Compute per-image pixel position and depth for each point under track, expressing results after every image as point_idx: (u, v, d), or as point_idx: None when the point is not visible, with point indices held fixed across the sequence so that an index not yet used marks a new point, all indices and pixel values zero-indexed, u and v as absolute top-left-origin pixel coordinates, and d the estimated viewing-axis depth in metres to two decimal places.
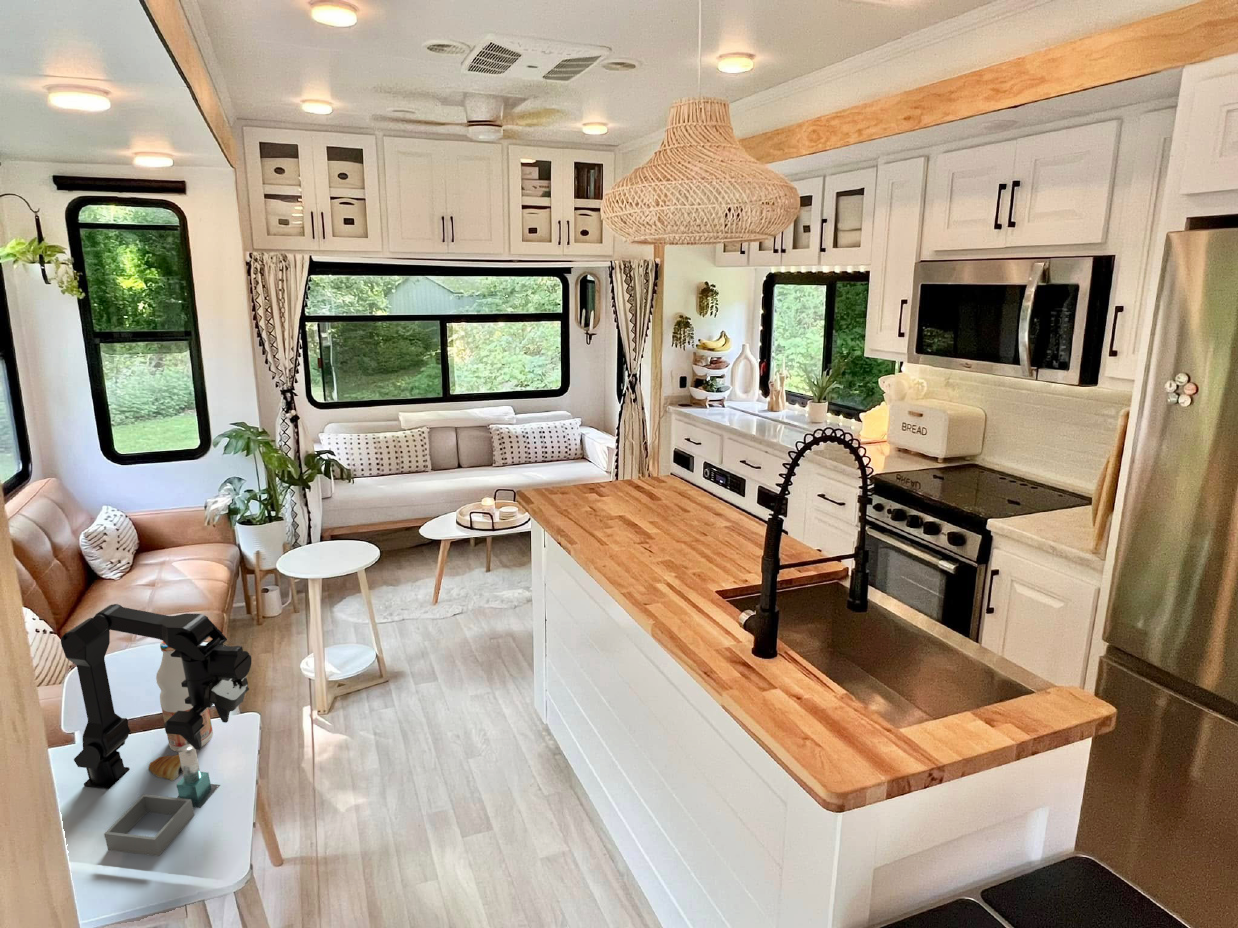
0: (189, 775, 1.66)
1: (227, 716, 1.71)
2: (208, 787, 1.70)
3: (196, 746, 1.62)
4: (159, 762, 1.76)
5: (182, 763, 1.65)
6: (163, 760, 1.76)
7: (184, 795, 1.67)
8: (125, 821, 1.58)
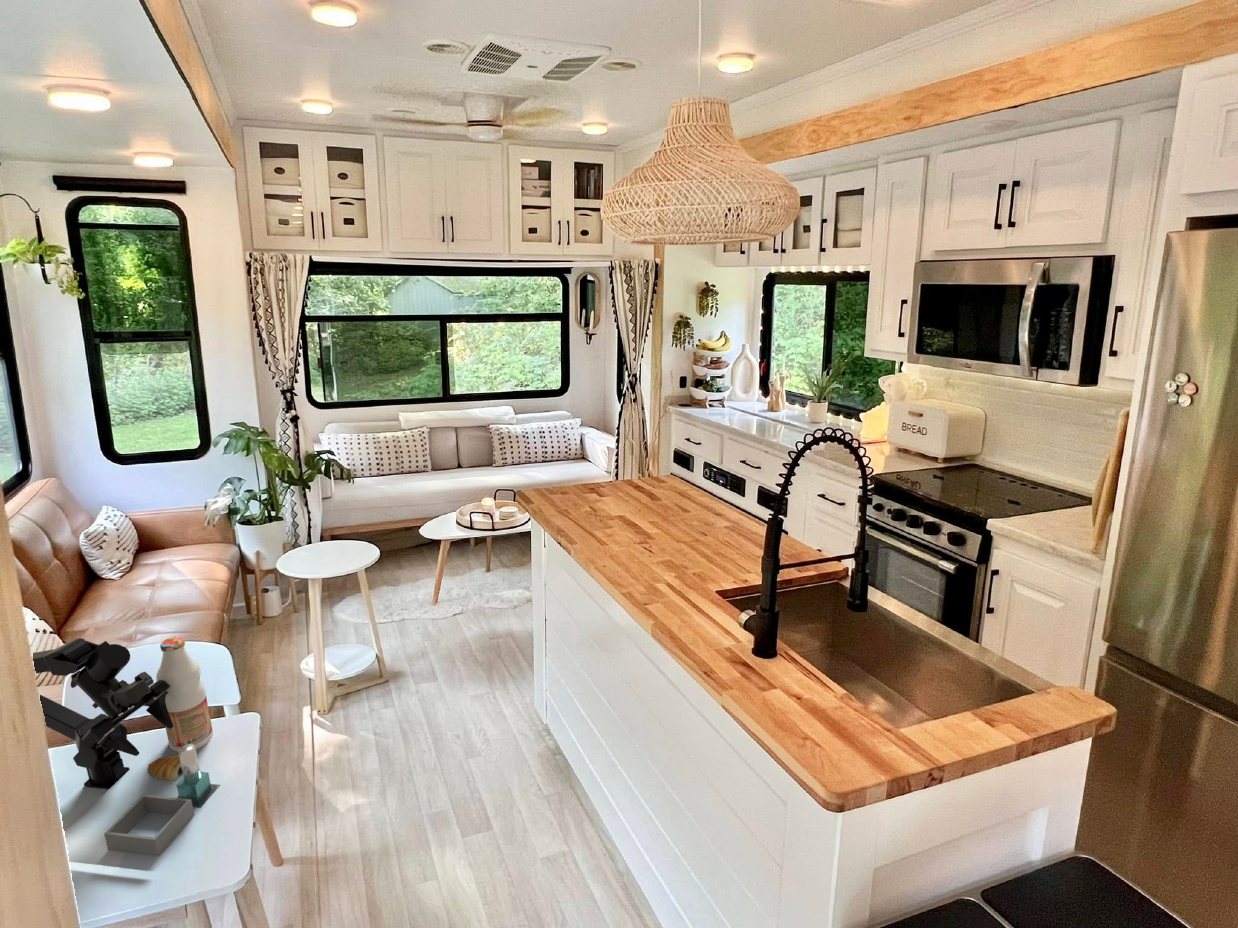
0: (189, 775, 1.66)
1: (169, 721, 1.71)
2: (208, 787, 1.70)
3: (132, 752, 1.62)
4: (158, 763, 1.76)
5: (182, 763, 1.65)
6: (162, 761, 1.76)
7: (184, 795, 1.67)
8: (125, 821, 1.58)
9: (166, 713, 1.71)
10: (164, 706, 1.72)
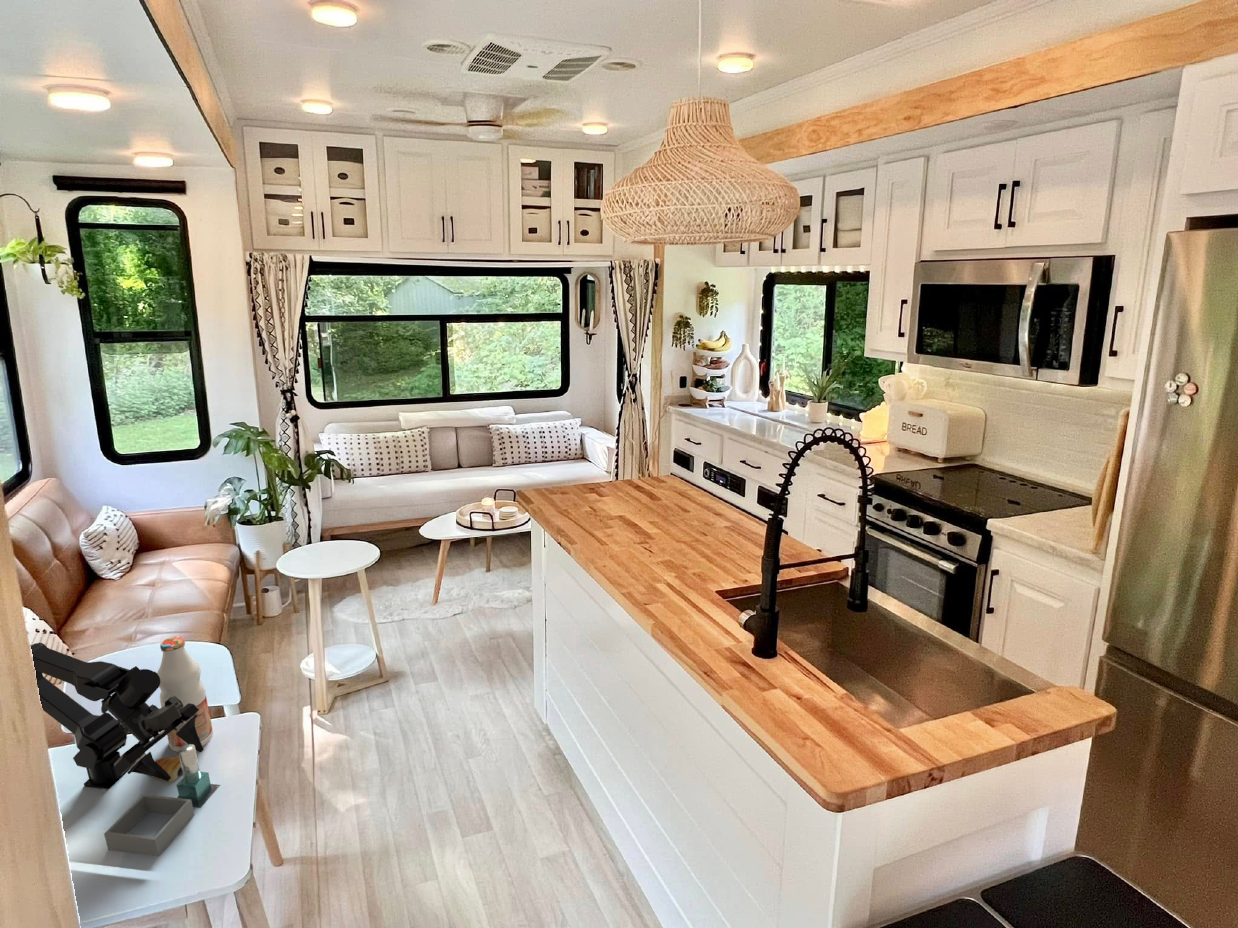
0: (189, 775, 1.66)
1: (199, 744, 1.71)
2: (208, 787, 1.70)
3: (164, 777, 1.62)
4: None
5: (182, 763, 1.65)
6: (161, 762, 1.76)
7: (184, 795, 1.67)
8: (125, 821, 1.58)
9: (196, 737, 1.71)
10: (194, 730, 1.71)
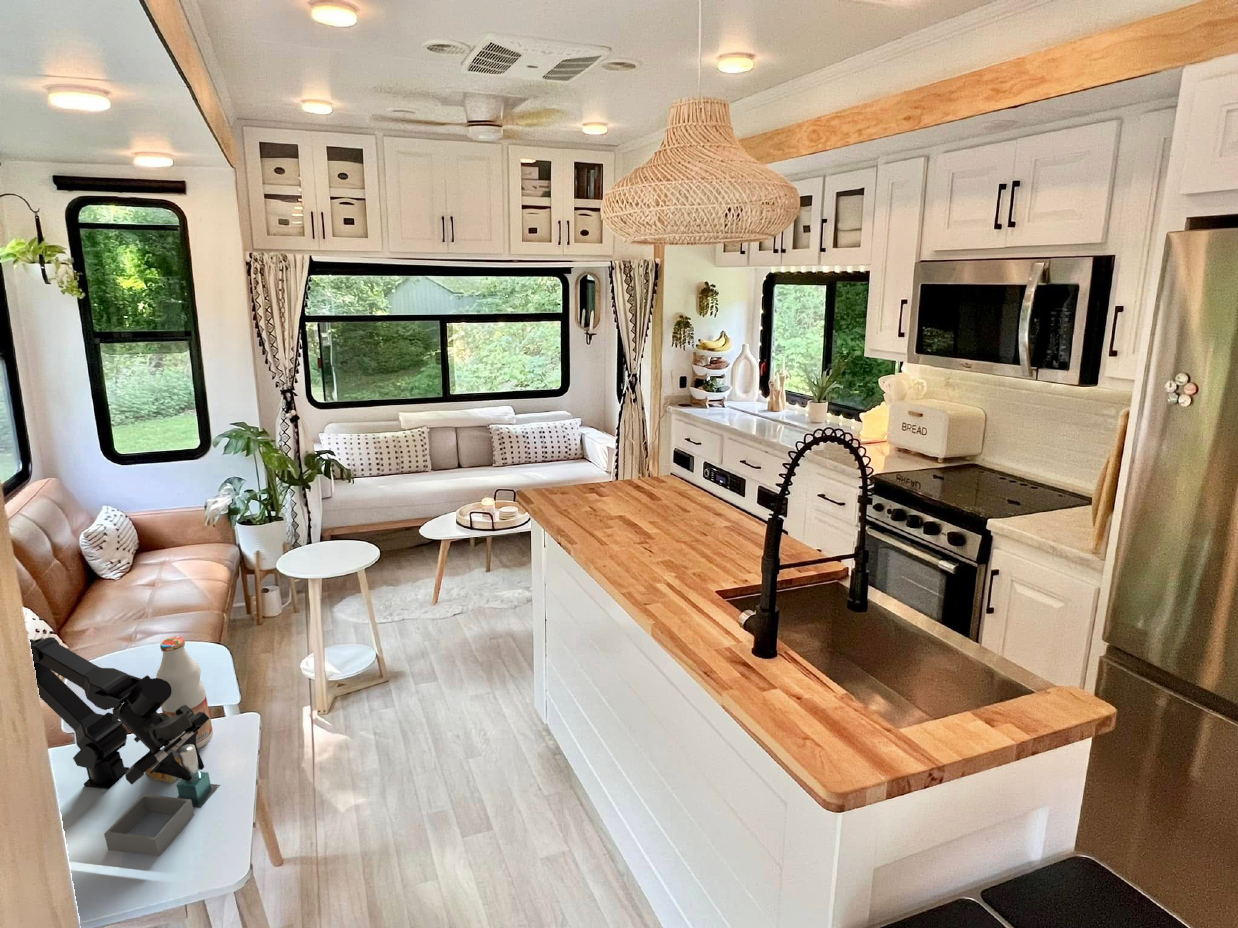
0: None
1: (199, 761, 1.68)
2: (208, 787, 1.70)
3: (185, 777, 1.65)
4: None
5: (182, 763, 1.65)
6: None
7: (184, 795, 1.67)
8: (125, 821, 1.58)
9: (197, 754, 1.68)
10: (195, 746, 1.69)
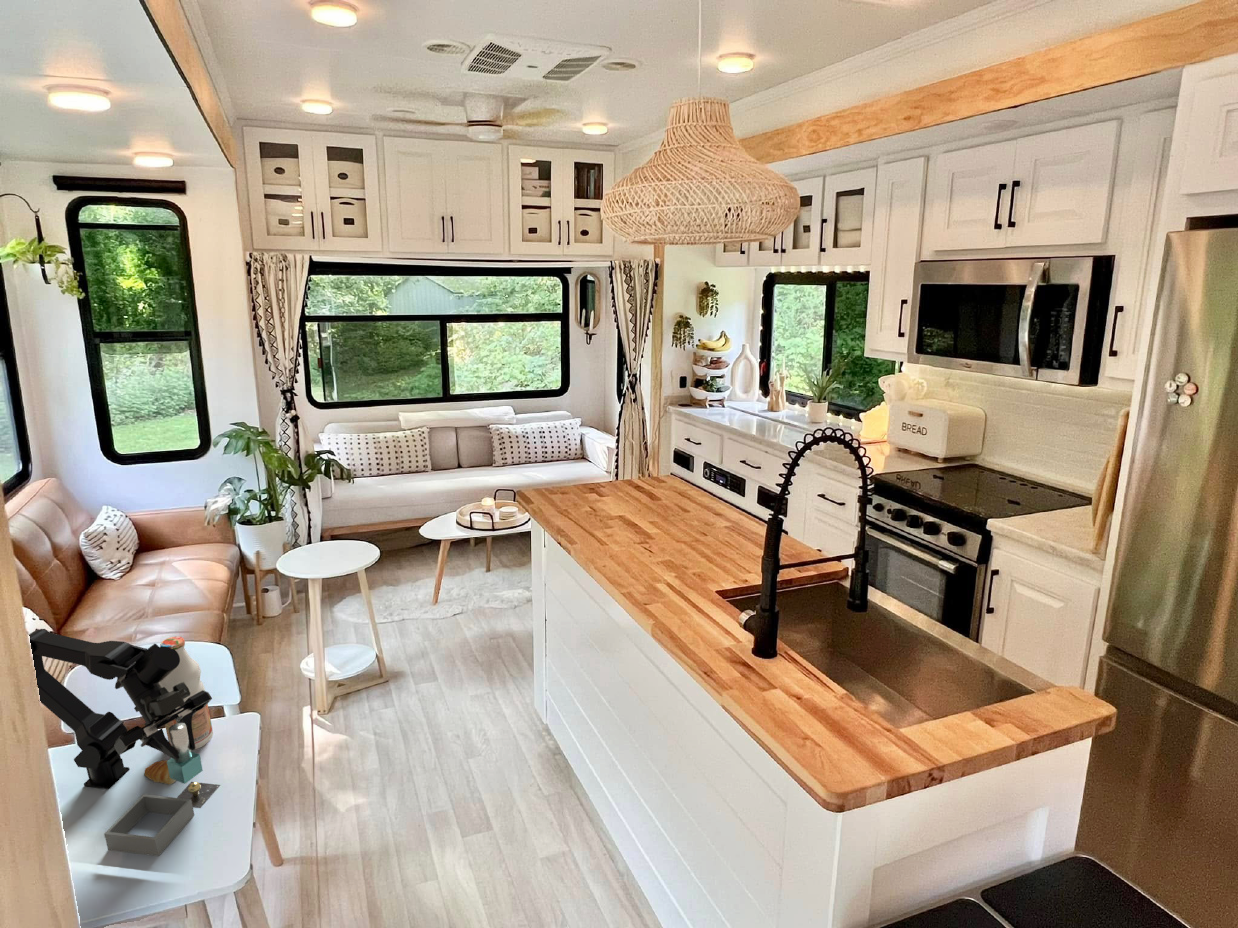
0: (178, 755, 1.62)
1: (191, 742, 1.64)
2: (198, 769, 1.66)
3: (173, 756, 1.61)
4: (155, 767, 1.74)
5: (171, 741, 1.61)
6: (159, 765, 1.75)
7: (173, 773, 1.64)
8: (125, 821, 1.58)
9: (190, 733, 1.65)
10: (189, 726, 1.65)
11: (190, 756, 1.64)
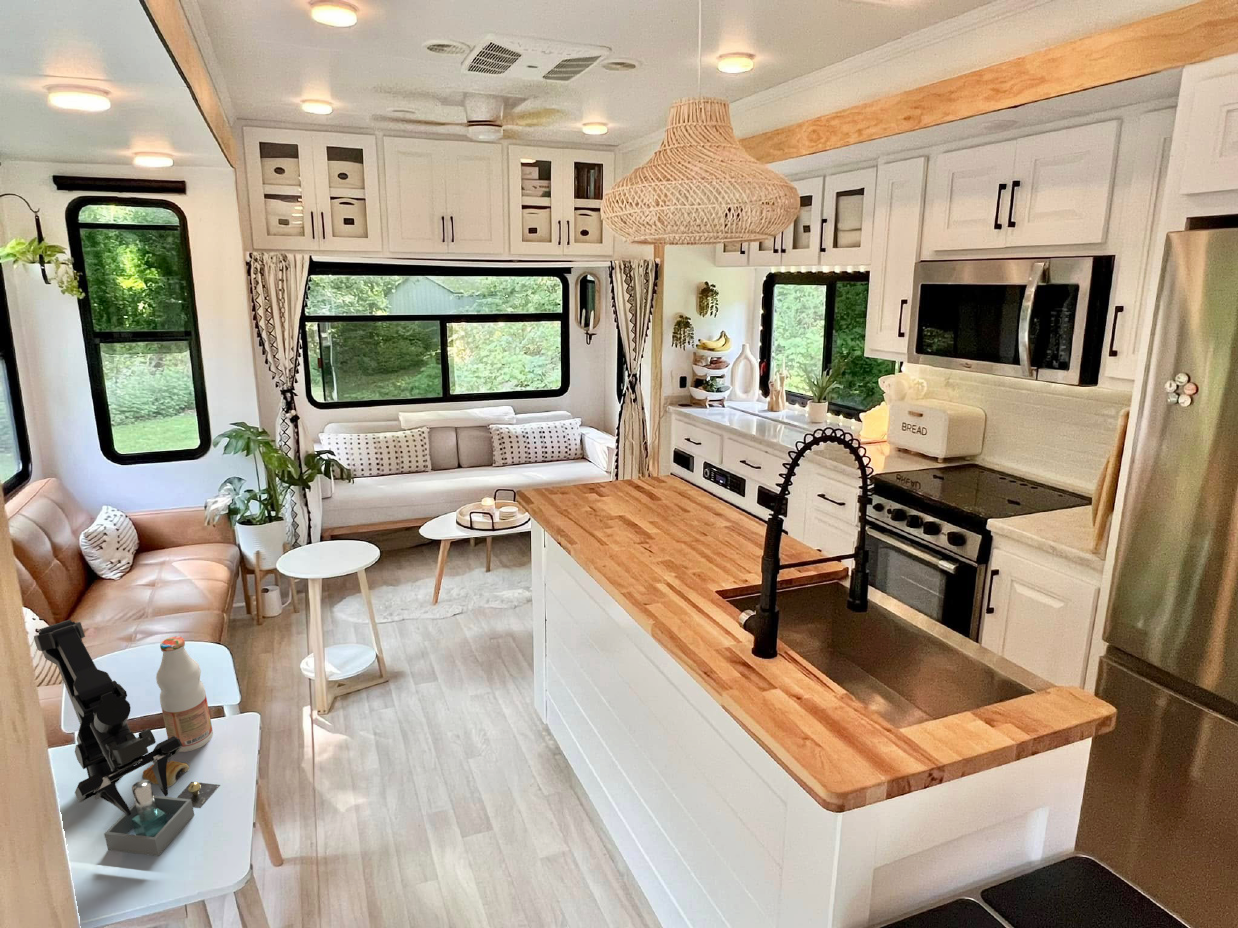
0: (141, 813, 1.56)
1: (164, 787, 1.58)
2: None
3: (124, 811, 1.53)
4: None
5: None
6: None
7: (137, 832, 1.57)
8: (125, 821, 1.58)
9: (163, 778, 1.59)
10: (164, 770, 1.59)
11: (155, 815, 1.57)
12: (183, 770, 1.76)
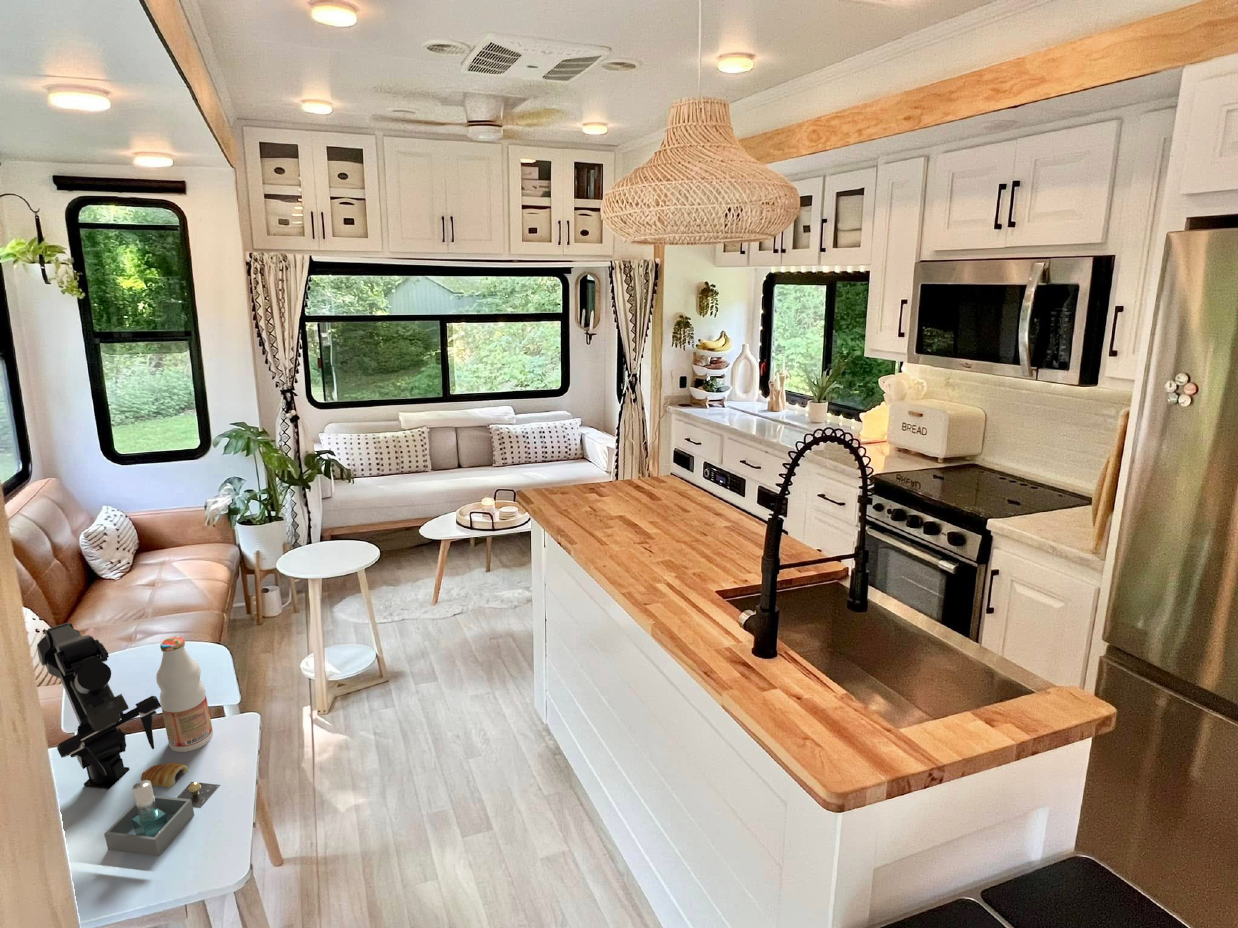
0: (141, 814, 1.56)
1: (150, 742, 1.63)
2: None
3: (100, 771, 1.58)
4: (153, 771, 1.73)
5: (135, 799, 1.55)
6: (157, 768, 1.74)
7: (138, 832, 1.57)
8: (125, 821, 1.58)
9: (149, 734, 1.63)
10: (149, 726, 1.63)
11: (155, 815, 1.57)
12: (182, 771, 1.75)
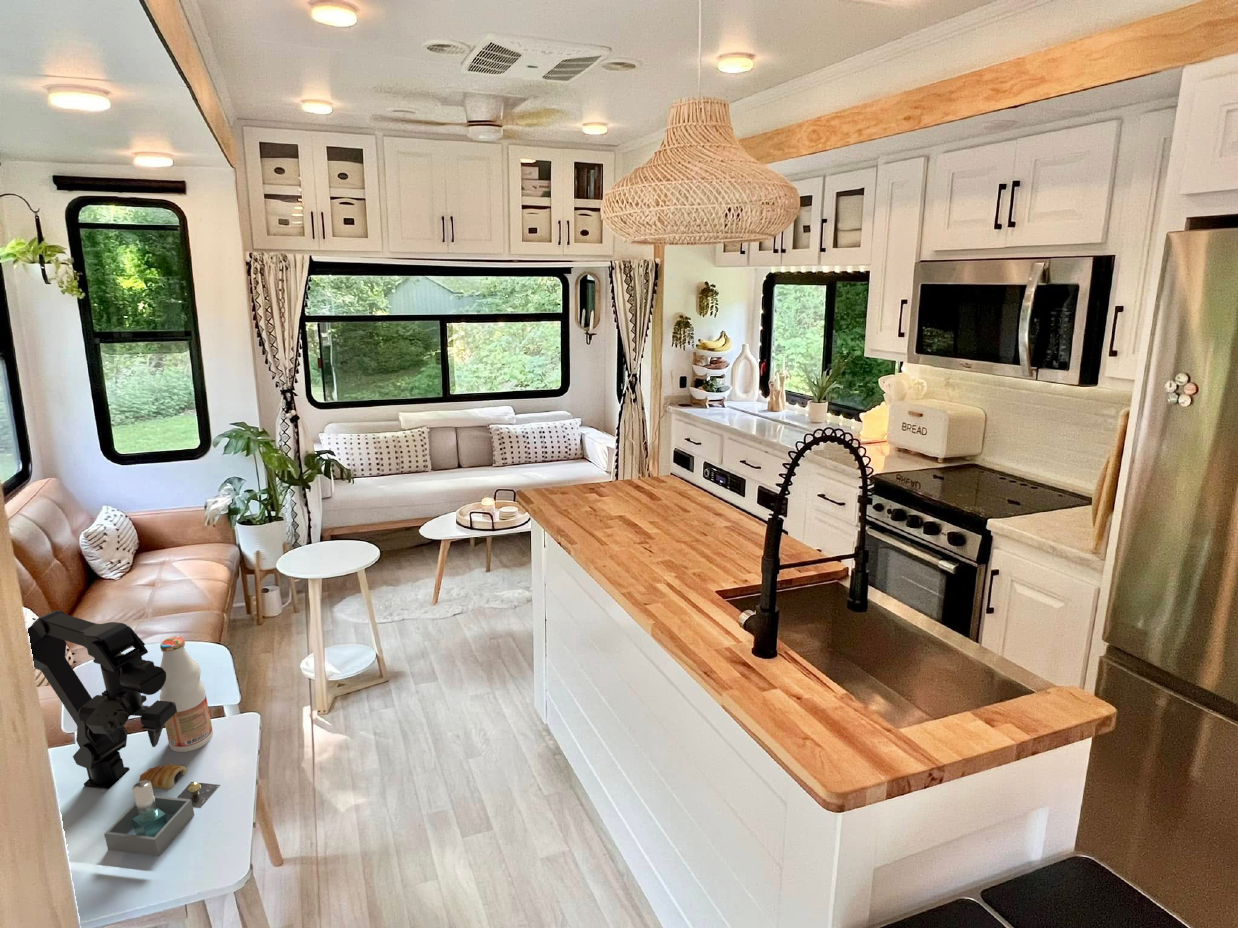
0: (141, 814, 1.56)
1: (151, 742, 1.65)
2: None
3: None
4: (151, 773, 1.73)
5: (135, 799, 1.55)
6: (155, 770, 1.73)
7: (138, 832, 1.57)
8: (125, 821, 1.58)
9: (151, 737, 1.64)
10: (151, 732, 1.63)
11: (155, 815, 1.57)
12: (181, 773, 1.75)
